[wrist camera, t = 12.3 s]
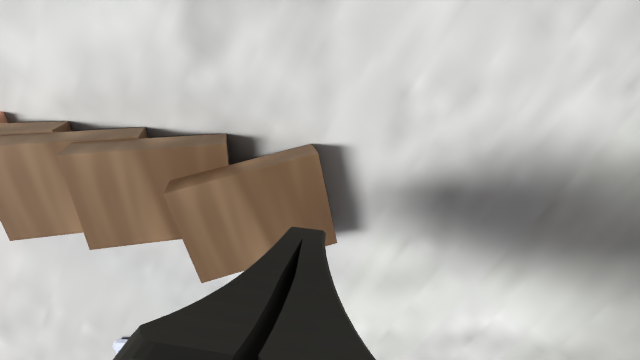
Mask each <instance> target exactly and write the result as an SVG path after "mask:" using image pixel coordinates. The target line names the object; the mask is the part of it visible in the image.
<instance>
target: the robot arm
mask: <svg viewBox="0 0 640 360" xmlns="http://www.w3.org/2000/svg"><path fill="white" fill-rule="evenodd" d="M325 239H326V233H325V232H324V231H323V230H316V229H308V228H300V227H291V228H289V229H288V230H287V232H286V233H285V234H284V235H283V236H282V237H281V238H280V239H279V240H278V241H277V242H276V243H275V244H274V245H273V246H272V247H271V248H270V249H269V250H268V251H267V252H266V253H265V254H264V255H263V256H262V257H261V258H260V259H258V260H257V261H256V262H255V263H254V264H253V265H251V266H250V267H249V268H248V269H247V270H245V271H244V272H243V273H242V274H240V275H239V276H238V277H236V278H235V279H233V280H232V281H231V282H229V283H228V284H226V285H225V286H223V287H221V288H220V289H218V290H216V291H215V292H213V293H211V294H210V295H208V296H206V297H204V298H203V299H201V300H199V301H197V302H195V303H193V304H191V305H189V306H187V307H184V308H182V309H180V310H178V311H176V312H173V313H171V314H169V315H166V316H163V317H161V318H158V319H156V320H153V321H151V322H148V323H145V324H142V325H140V326H139V328H138V329H137V330H136V331H135V332H134V333H133V334H132V335H131V337H130V338H129V339H118V340H116V341H115V342H114V344H113V348H114V350H115V351H116V353H117V355H116V356H115V358H114V359H113V360H376V359H375V358H374V357H373V355H372V354H371V353H370V351H369V350H368V348H367V347H366V346H365V344H364V343H363V341H362V340H361V338H360V336H359V335H358V333H357V332H356V330H355V328H354V326H353V325H352V323H351V321H350V319H349V317H348V316H347V314H346V312H345V310H344V308H343V305H342V303H341V301H340V299H339V296H338V294H337V291H336V289H335V286H334V283H333V280H332V277H331V274H330V270H329V266H328V261H327V257H326V250H325Z"/></svg>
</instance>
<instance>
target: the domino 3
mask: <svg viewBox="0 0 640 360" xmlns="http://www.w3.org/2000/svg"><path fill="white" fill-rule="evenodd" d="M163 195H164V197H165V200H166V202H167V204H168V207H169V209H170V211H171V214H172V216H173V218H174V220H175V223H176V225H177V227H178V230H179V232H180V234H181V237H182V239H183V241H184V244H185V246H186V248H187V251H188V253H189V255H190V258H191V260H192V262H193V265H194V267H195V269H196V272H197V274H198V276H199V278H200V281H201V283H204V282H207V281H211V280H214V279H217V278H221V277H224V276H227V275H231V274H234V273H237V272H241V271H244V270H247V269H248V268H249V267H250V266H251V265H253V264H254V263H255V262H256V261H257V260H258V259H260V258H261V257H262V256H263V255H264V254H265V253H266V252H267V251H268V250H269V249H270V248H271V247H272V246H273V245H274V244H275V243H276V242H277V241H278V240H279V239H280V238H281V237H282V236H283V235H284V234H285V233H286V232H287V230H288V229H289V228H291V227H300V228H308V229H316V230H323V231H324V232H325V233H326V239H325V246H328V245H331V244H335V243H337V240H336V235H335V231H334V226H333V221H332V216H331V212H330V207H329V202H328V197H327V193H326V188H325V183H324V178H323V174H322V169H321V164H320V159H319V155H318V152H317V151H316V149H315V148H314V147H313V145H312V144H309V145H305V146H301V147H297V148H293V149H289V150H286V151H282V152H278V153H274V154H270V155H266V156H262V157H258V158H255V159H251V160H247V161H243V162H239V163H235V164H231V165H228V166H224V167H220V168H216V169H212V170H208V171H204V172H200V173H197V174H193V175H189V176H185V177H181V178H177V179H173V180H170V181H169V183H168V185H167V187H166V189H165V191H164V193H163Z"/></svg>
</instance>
